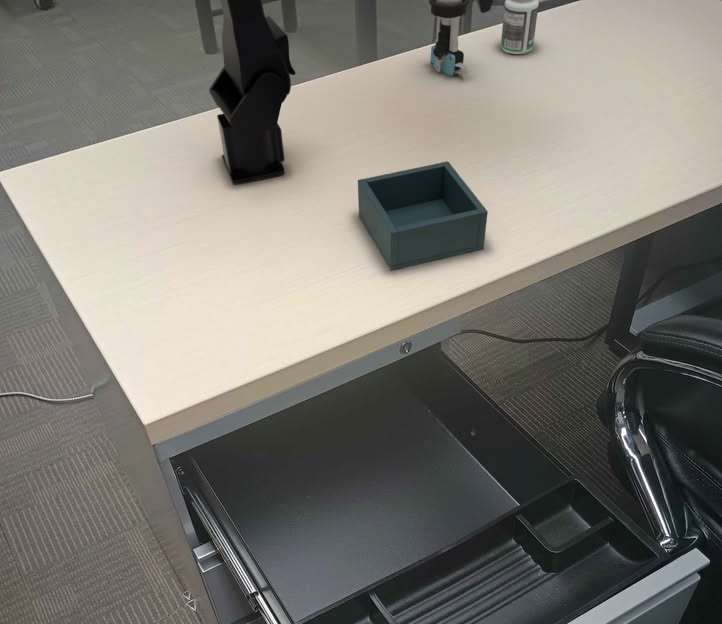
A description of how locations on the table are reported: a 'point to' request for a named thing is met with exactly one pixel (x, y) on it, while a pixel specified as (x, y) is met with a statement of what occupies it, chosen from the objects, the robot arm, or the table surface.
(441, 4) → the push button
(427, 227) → the bin
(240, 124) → the robot arm
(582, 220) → the table surface
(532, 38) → the pill bottle
